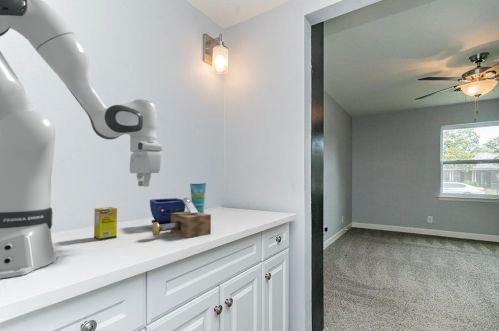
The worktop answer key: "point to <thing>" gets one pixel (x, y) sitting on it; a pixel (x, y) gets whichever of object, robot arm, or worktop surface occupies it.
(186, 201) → the keeper
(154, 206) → the flower pot
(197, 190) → the tube
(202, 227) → the block
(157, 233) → the pin
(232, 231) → the worktop surface
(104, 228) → the supplement box
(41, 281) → the worktop surface
